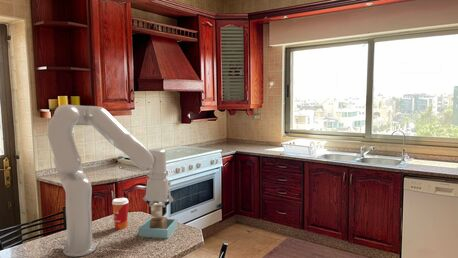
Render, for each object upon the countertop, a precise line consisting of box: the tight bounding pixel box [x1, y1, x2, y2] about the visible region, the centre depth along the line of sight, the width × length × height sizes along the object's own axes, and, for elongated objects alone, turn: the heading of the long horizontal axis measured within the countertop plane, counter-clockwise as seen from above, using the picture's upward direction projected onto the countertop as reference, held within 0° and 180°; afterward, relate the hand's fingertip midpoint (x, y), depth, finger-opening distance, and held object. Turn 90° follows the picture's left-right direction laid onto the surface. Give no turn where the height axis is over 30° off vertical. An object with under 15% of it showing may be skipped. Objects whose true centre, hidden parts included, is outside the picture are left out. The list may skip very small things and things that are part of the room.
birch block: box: [150, 202, 164, 218], centre depth 158 cm, size 5×5×5 cm
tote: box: [138, 217, 178, 239], centre depth 159 cm, size 14×14×4 cm
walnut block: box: [150, 216, 168, 229], centre depth 159 cm, size 6×6×6 cm
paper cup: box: [111, 197, 130, 230], centre depth 164 cm, size 8×8×14 cm
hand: (158, 214), depth 158 cm, fingers closed on birch block, 4 cm apart
